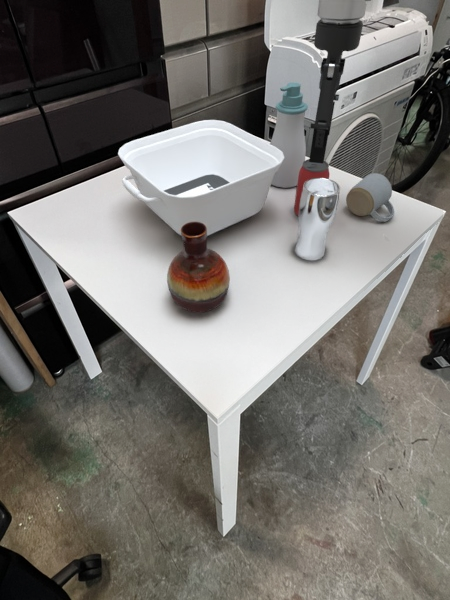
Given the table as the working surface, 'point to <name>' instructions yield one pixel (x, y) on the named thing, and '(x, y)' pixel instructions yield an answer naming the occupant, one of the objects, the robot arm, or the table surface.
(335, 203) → the beer glass
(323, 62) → the robot arm
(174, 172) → the white wash basin
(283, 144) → the soap bottle
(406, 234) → the table surface
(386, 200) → the ceramic mug
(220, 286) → the vase
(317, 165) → the beer can
